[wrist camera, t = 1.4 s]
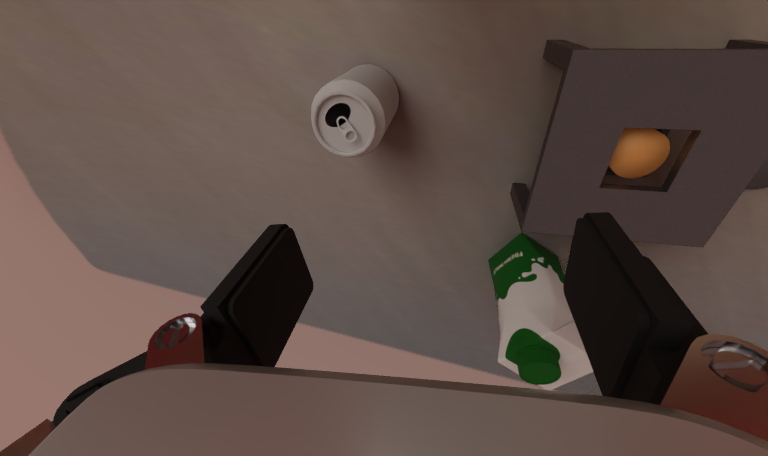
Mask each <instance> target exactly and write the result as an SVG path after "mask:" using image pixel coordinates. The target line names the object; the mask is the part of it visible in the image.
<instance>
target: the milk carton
mask: <svg viewBox="0 0 768 456" xmlns="http://www.w3.org/2000/svg"><path fill="white" fill-rule="evenodd" d="M488 261H489V265H490V270H491V274H492V279H493V284H494V289H495V296H496V303H497V310H498V317H499V324H500V332H501V335H500V345H499V354H498V362H499V363H500V364H502V365H504V366H505V367H507V368H509V369H510V370H512V371H514V372H515V373H517V374H519V375H520V377H521V378H522V379H523V380H524V381H526V382H528V383H531V384H536V385H539V386H541V387H543V388H544V389H546V390H552V389H554V388H557V387H559V386H561V385H564V384H566V383H568V382H571V381H573V380H575V379H578V378H580V377H582V376H585V375H587V374H589V373H592V372H593V369H592V366H591V364H590V361H589V358H588V356H587V353H586V351H585V348H584V345H583V343H582V340H581V337H580V335H579V332H578V330H577V327H576V324H575V322H574V319H573V317H572V314H571V311H570V309H569V306H568V303H567V301H566V298H565V295H564V290H563V285H564V279H565V276H564V274H563V271H562V269H561V266H560V263H559V260H558V257H557V256H556V255H554V254H553V253H551V252H550V251H548V250H547V249H545V248H544V247H543V246H541V245H540V244H538V243H537V242H535V241H534V240H532V239H531V238H529V237H528V236H526V235H525V234H524V233H521V234H519V235H518V236H517V237H516V238H515V239H513V240H512V241H511V242H510V243H509V244H507V245H506V246H505V247H504V248H502V249H501V250H500V251H499V252H498V253H496V254H495V255H494V256H493V257H492V258H490V259H489V260H488Z"/></svg>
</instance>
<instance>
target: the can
mask: <svg viewBox="0 0 768 456" xmlns="http://www.w3.org/2000/svg"><path fill="white" fill-rule="evenodd" d="M398 103H399V94H398V88H397V86H396V84H395V82H394V79H393V78H392V77H391V76H390V75H389V74H388V73H387V71H385V70H384V69H382V68H380V67H378V66H376V65H370V64H364V65H358V66H356V67H354V68H352V69H351V70H349V71H347V72H346V73H344V74H343V75H341V76H339V77H338V78H336V79H334V80H333V81H331V82H330V83H328V84H326V85H325V86H323V87H322V88H321V89H320V90H319V92H318V93H317V94H316V95H315V97H314V100H313V103H312V106H311V121H312V126H313V130H314V133H315V135H316V137H317V139H318V140H319V142H320V143H321V144H322V145H323V146H324V147H325V148H326V149H327V150H328V151H330V152H332V153H334V154H336V155H339V156H344V157H359V156H363V155H365V154H367V153H370V152H371V151H372V150H373V149H374V148H375V147H376V146H377V145H379V143H380V141H381V139H382V137H383V135H384V134H385V132H386V130H387V128H388V126H389V125H390V123H391V121H392V119H393V117H394V115H395V113H396V111H397V109H398Z"/></svg>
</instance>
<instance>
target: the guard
mask: <svg viewBox="0 0 768 456" xmlns="http://www.w3.org/2000/svg"><path fill="white" fill-rule="evenodd" d="M543 58H545V59H546V60H548V61H550V62H551V63H553V64H555V65H557V66H558V67H560V68H562V69H563V70H564V71H563V75H562V78H561V82H560V86H559V89H558V93H557V96H556V100H555V103H554V107H553V111H552V114H551V118H550V121H549V125H548V129H547V132H546V136H545V139H544V143H543V146H542V150H541V154H540V157H539V161H538V164H537V168H536V171H535V175H534V179H533V182H532V186H531V189H530V193H529V191H528V189H527V186H526V184H521V183H513V184H512V188H511V193H510V194H511V198H512V201H513V205H514V208H515V211H516V215H517V218H518V221H519V225H520V228H521V231H522V232H532V233H543V234H555V235H566V236H573V235H574V230H575V225H576V221H577V219H578V218H583V216H584V215H585V214H586V213H598V212H609V213H610V214H611V215H612V216H613V217H614V219H615V220H616V221H617V223H618V224H619V225H620V227H621V228H622V229H623V231H624V232H625V233H626V235H627V236H628V237H629V238H630V240H631V241H635V242H647V243H658V244H670V245H681V246H693V247H704V245H705V244H706V243H707V241H708V240H709V238H710V237H711V236H712V234H713V233H714V231H715V230H716V229H717V227H718V226H719V224H720V223H721V221H722V220H723V219H724V217H725V216H726V214H727V213H728V212H729V210H730V209H731V207H732V206H733V205H734V203H735V202H736V200H737V199H738V198H739V196H740V195H741V193H742V192H743V191H744V189H745V188H746V186H747V185H748V184H749V182H750V181H751V179H752V178H753V177H754V175H755V174H756V172H757V171H758V170H759V168H760V167H761V165H762V164H763V163H764V161H765V160H766V158H767V157H768V42H765V41H757V40H729V42H728V44H727V46H726V48H725V49H591V48H587V47H584V46H581V45H578V44H575V43H571V42H568V41H565V40H547V43H546V47H545V51H544V55H543ZM624 127H626V128H653V129H656V130H657V131H659V132H661V133H662V134H664V135H665V136H666V137H667V135H668V133H669V131H670V129H681V130H692V132H691V134H690V136H689V138H688V140H687V141H686V143H685V145H684V147H683V149H682V151H681V152H680V154H679V156H678V158H677V160H676V162H675V163H674V165H673V167H672V169H671V171H670V173H669V175H668V176H667V178H666V180H665V182H664V184H663V186H662V187H645V186H629V185H613V184H601V182H602V180H603V177H604V175H605V174H606V175H617V174H616V173H615V172H614V171H613V170H612V169H611V168H610V167H609V166H608V165H609V163H610V161H611V158H612V156H613V153H614V151H615V149H616V146H617V144H618V141H619V139H620V137H621V134H622V132H623V130H624ZM642 177H647V175H645V176H642Z"/></svg>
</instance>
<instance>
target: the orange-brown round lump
mask: <svg viewBox="0 0 768 456" xmlns="http://www.w3.org/2000/svg"><path fill="white" fill-rule="evenodd" d="M669 152H670V142H669V140H668V138H667V137H666V136H665V135H664V134H662V133H661V132H659V131H657V130H656V129H653V128H626V127H624V130H623V132H622V134H621V137H620V139H619V141H618V144H617V146H616V149H615V151H614V153H613V156H612V158H611V161H610V163H609V165H608V166H609V167H610V168H611V169H612V170H613V171H614V172H615V173H616V174H617V175H619V176H621V177H624V178H638V177H642V176H645V175H648V174H650V173H651V172H653V171H655V170H656V169H658V168H659V167H660V166H661V165H662V164H663V163H664V161H665V160H666V159H667V157H668V155H669Z"/></svg>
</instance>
